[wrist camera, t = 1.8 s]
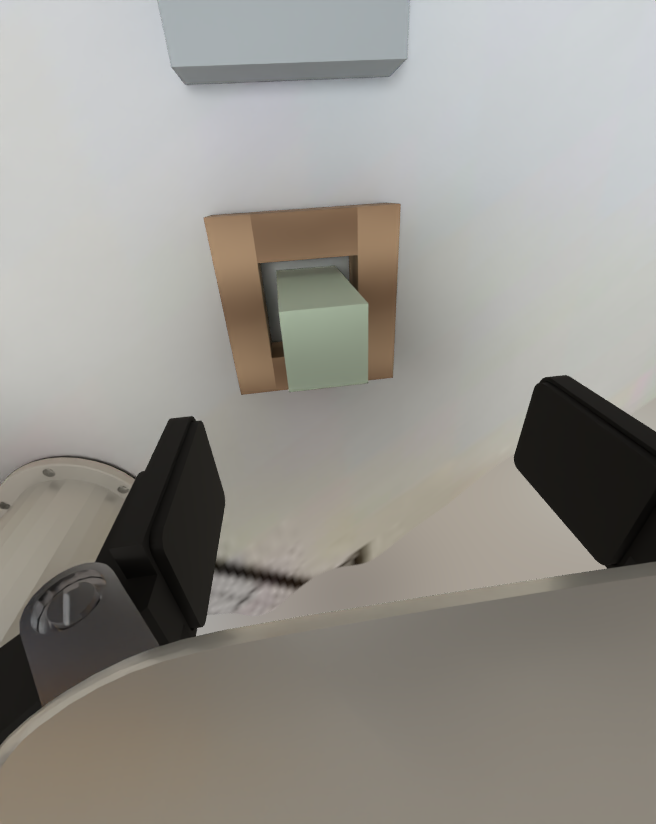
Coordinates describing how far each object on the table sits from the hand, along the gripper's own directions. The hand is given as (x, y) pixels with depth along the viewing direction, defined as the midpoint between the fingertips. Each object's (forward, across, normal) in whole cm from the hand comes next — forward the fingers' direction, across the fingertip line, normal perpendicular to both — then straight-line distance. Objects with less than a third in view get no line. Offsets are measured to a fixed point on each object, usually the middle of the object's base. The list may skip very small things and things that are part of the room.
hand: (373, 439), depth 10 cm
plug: (+18, +1, 0) cm, 18 cm away
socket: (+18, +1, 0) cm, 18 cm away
